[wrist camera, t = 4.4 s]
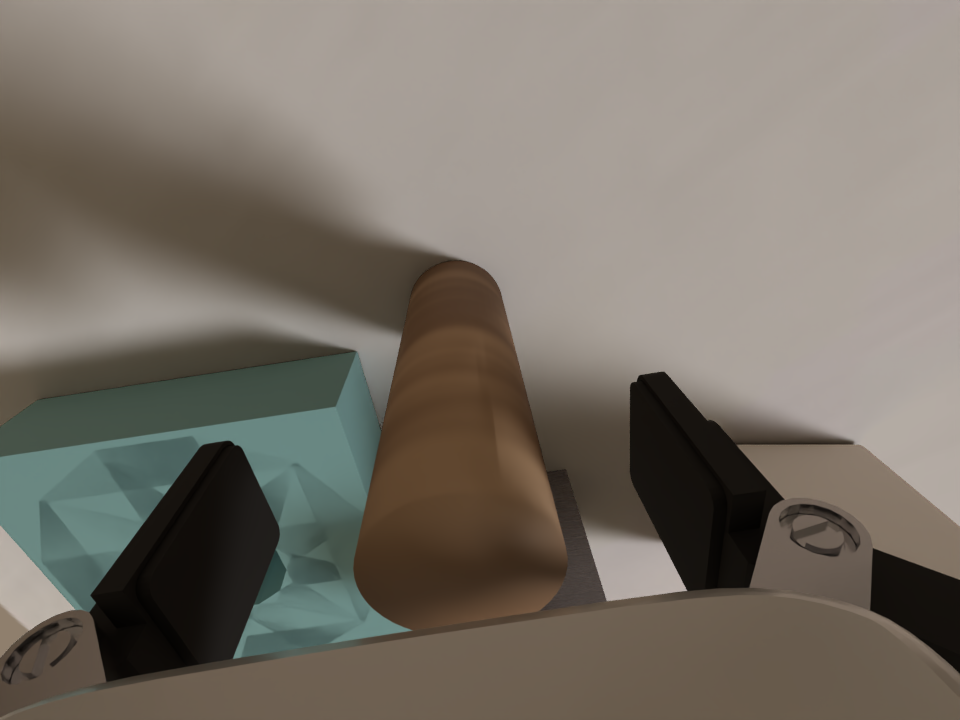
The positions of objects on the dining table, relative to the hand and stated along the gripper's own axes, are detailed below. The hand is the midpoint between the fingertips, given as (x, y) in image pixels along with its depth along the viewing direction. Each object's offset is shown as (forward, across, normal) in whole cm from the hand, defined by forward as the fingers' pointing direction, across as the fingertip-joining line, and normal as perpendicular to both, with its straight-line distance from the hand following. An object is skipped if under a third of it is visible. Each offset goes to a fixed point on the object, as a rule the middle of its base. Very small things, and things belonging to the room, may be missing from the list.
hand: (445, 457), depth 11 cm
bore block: (+9, +10, +7) cm, 15 cm away
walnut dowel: (+8, -1, -1) cm, 8 cm away
